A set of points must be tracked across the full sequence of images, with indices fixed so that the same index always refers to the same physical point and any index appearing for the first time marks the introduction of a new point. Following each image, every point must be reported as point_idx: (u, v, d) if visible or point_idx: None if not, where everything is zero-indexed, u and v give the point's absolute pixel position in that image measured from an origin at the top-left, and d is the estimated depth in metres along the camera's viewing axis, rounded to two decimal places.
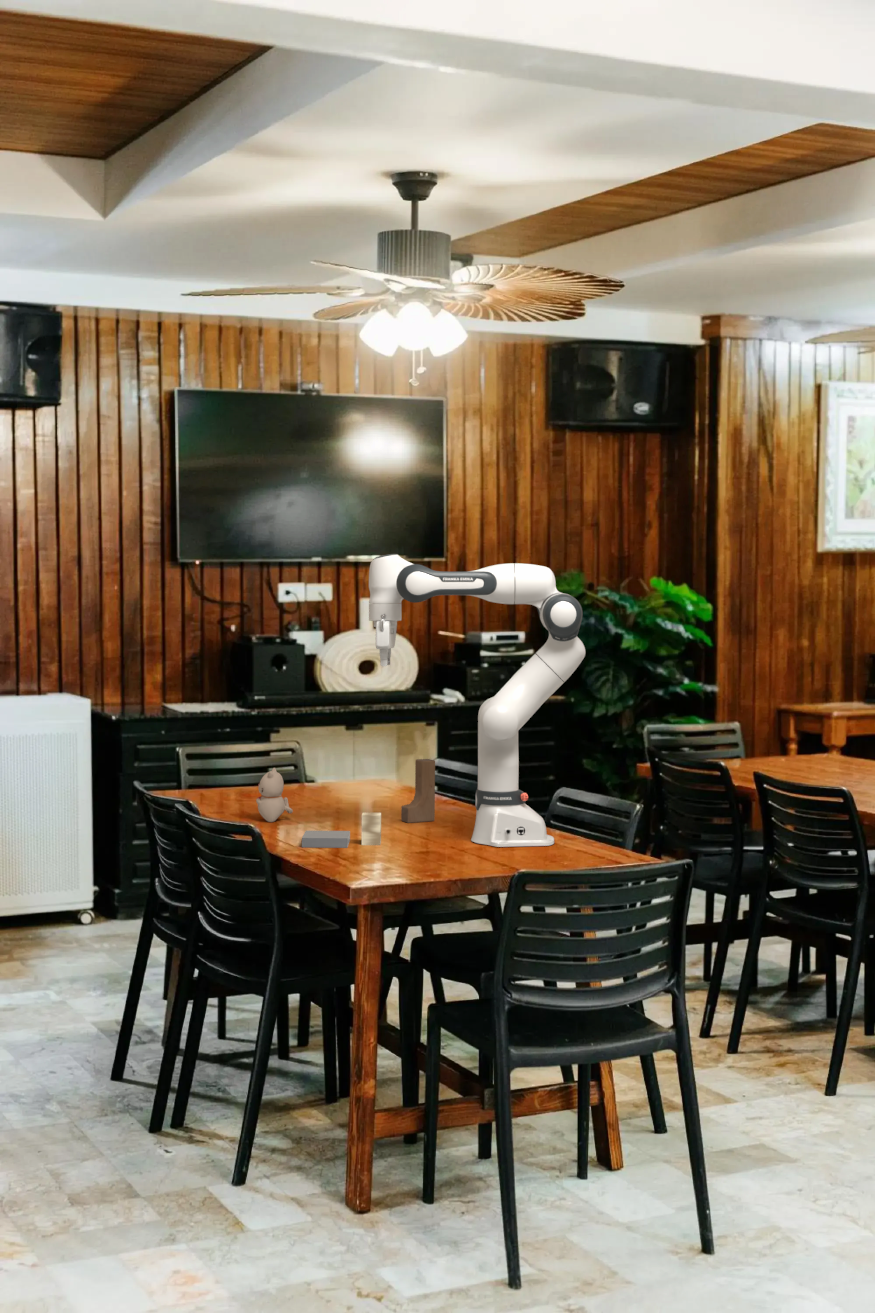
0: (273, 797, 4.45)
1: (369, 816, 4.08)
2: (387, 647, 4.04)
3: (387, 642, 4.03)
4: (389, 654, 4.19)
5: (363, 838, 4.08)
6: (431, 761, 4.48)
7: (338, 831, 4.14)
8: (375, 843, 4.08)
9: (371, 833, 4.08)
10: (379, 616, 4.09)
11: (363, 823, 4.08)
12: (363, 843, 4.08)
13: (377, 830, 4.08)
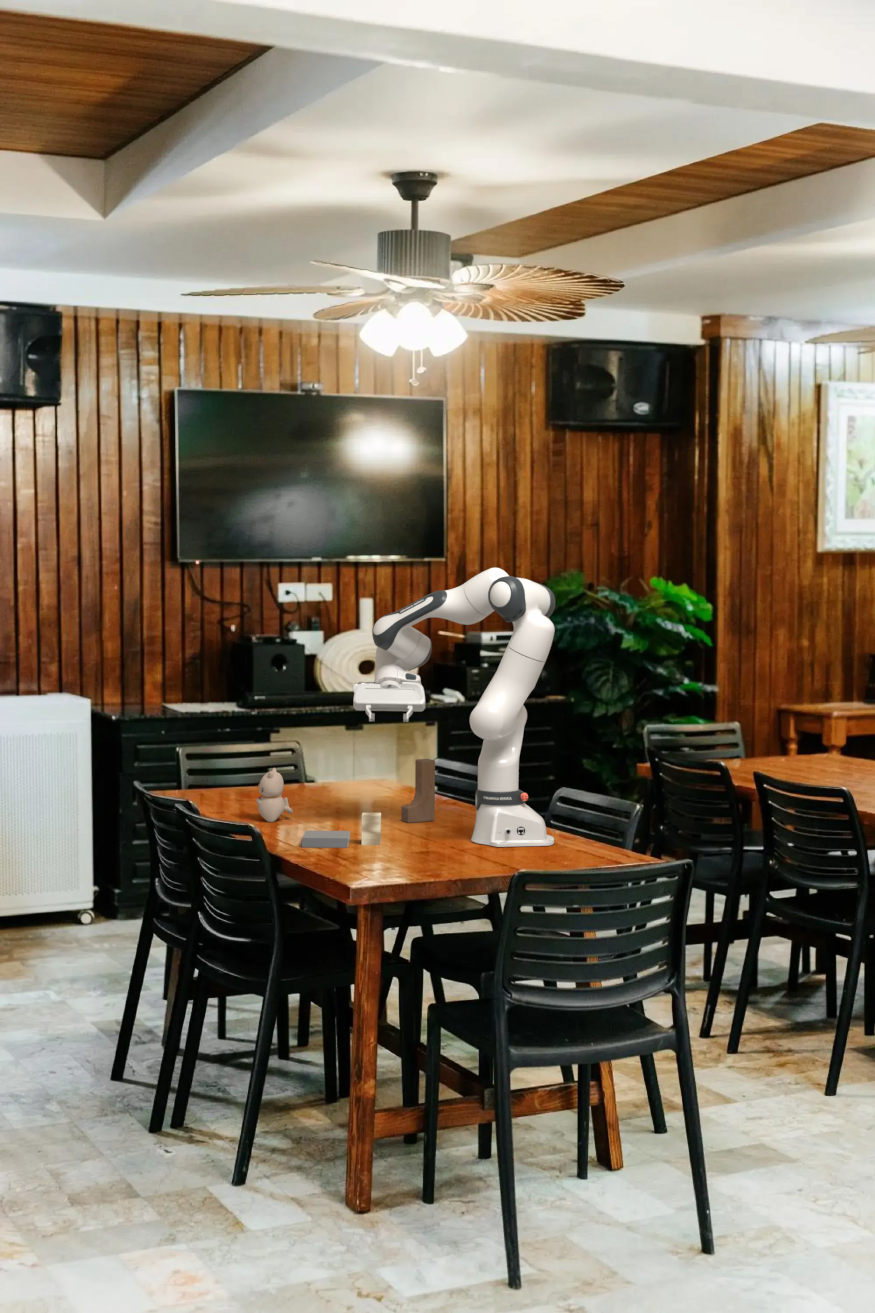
0: (273, 797, 4.45)
1: (369, 816, 4.08)
2: (354, 702, 4.27)
3: (353, 699, 4.28)
4: None
5: (363, 838, 4.08)
6: (431, 761, 4.48)
7: (338, 831, 4.14)
8: (375, 843, 4.08)
9: (371, 833, 4.08)
10: None
11: (363, 823, 4.08)
12: (363, 843, 4.08)
13: (377, 830, 4.08)
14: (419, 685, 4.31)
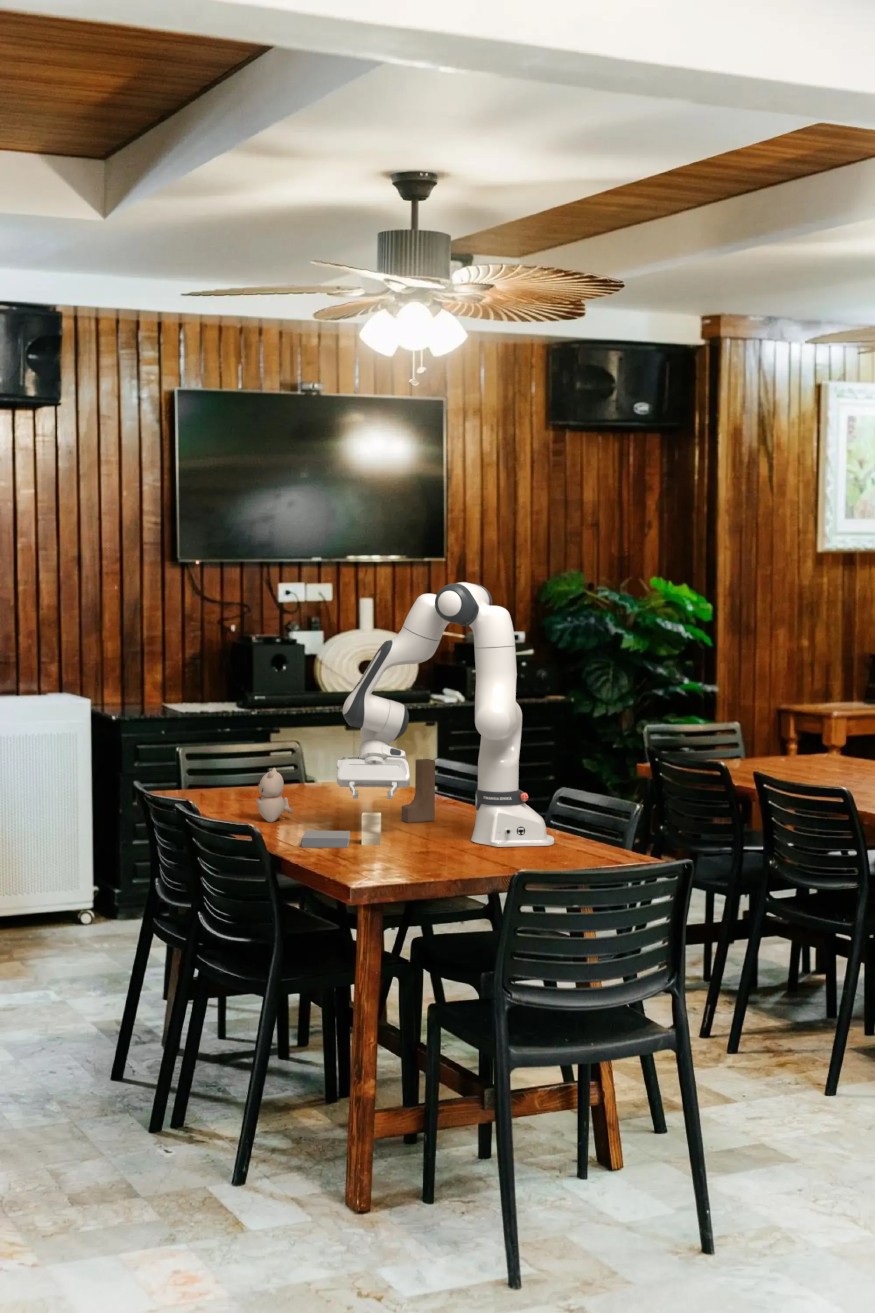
0: (273, 797, 4.45)
1: (369, 816, 4.08)
2: (338, 779, 4.21)
3: (337, 775, 4.22)
4: None
5: (363, 838, 4.08)
6: (431, 761, 4.48)
7: (338, 831, 4.14)
8: (375, 843, 4.08)
9: (371, 833, 4.08)
10: None
11: (363, 823, 4.08)
12: (363, 843, 4.08)
13: (377, 830, 4.08)
14: (404, 761, 4.24)
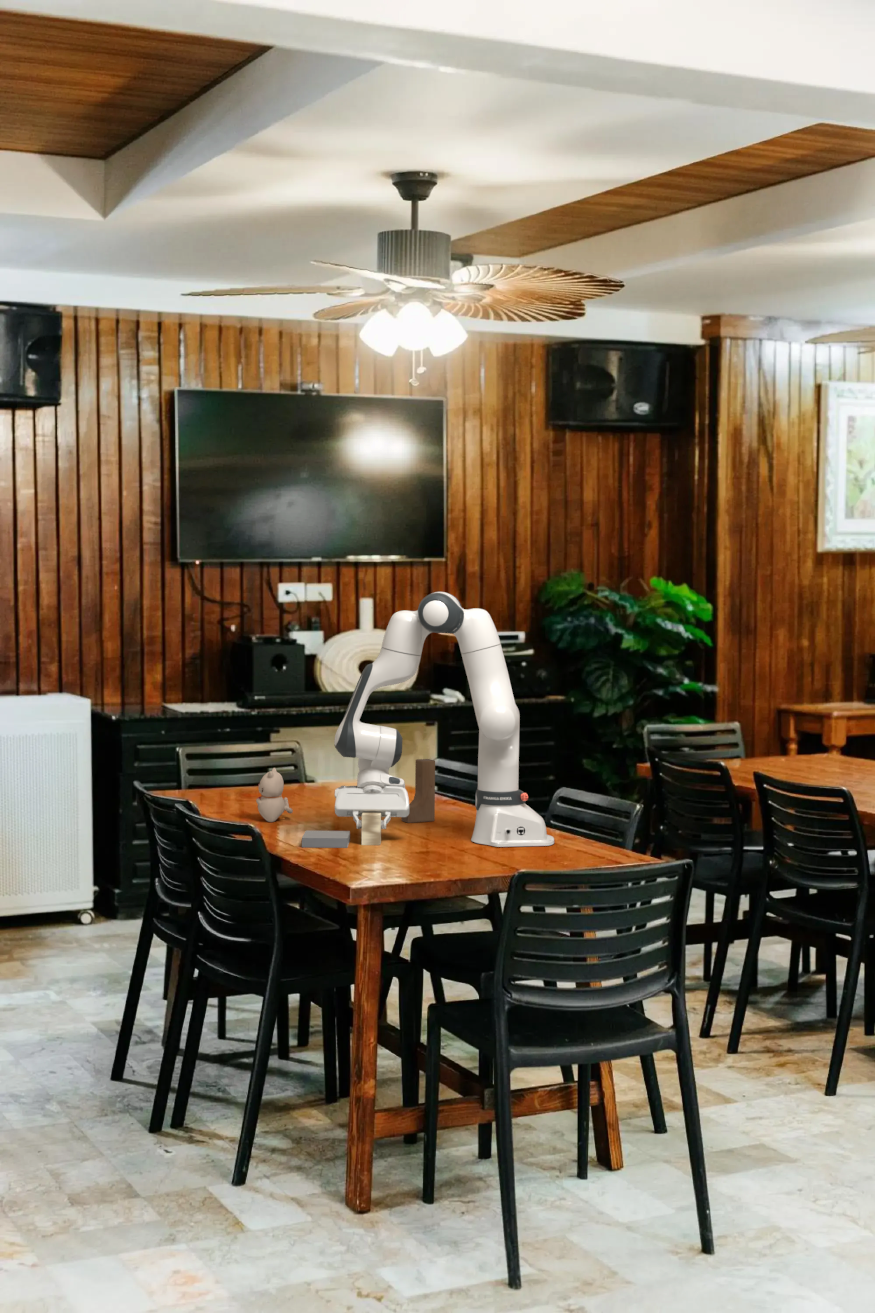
0: (273, 797, 4.45)
1: (369, 816, 4.08)
2: (336, 809, 4.12)
3: (335, 804, 4.13)
4: None
5: (363, 838, 4.08)
6: (431, 761, 4.48)
7: (338, 831, 4.14)
8: (375, 843, 4.08)
9: (371, 833, 4.08)
10: None
11: (363, 823, 4.08)
12: (363, 843, 4.08)
13: (377, 830, 4.08)
14: (403, 789, 4.15)
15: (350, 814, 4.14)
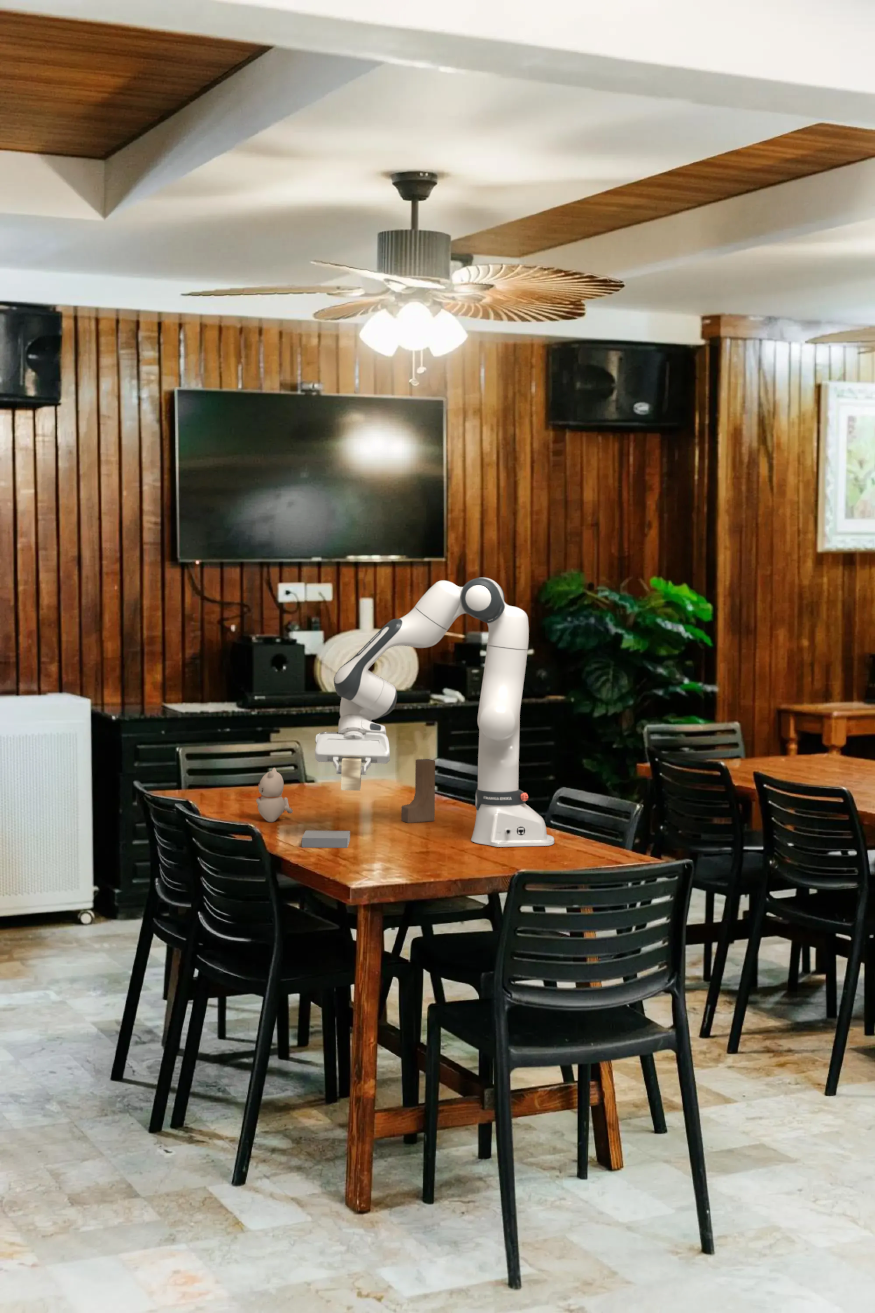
0: (273, 797, 4.45)
1: (349, 761, 4.07)
2: (316, 754, 4.11)
3: (315, 750, 4.12)
4: None
5: (343, 783, 4.07)
6: (431, 761, 4.48)
7: (338, 831, 4.14)
8: (355, 788, 4.07)
9: (350, 778, 4.07)
10: None
11: (343, 768, 4.07)
12: (343, 788, 4.07)
13: (357, 775, 4.07)
14: (384, 736, 4.14)
15: (330, 759, 4.13)
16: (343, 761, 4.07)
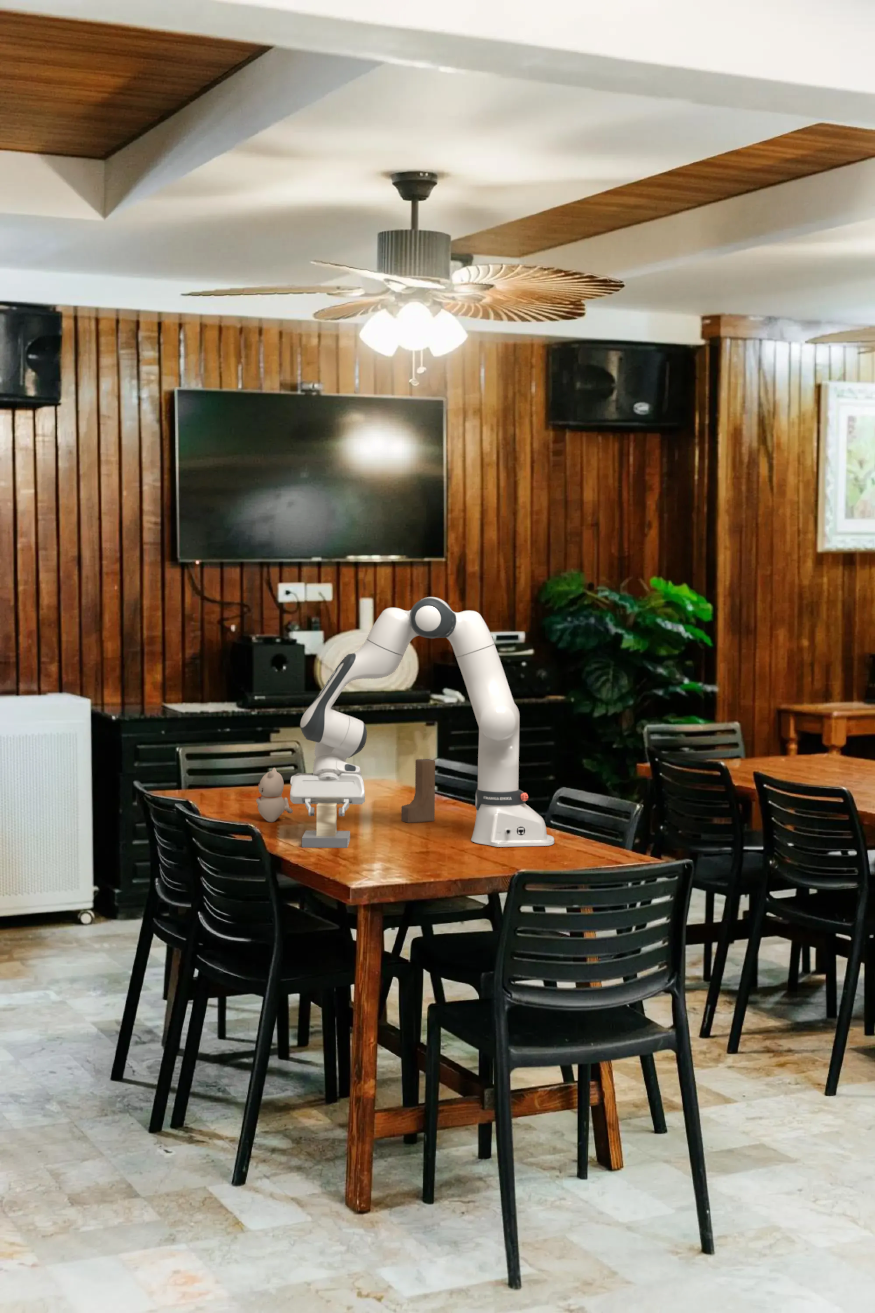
0: (273, 797, 4.45)
1: (324, 807, 4.07)
2: (291, 796, 4.11)
3: (290, 792, 4.12)
4: None
5: (318, 829, 4.07)
6: (431, 761, 4.48)
7: (338, 831, 4.14)
8: (330, 834, 4.07)
9: (325, 824, 4.07)
10: None
11: (318, 814, 4.07)
12: (318, 834, 4.07)
13: (332, 820, 4.07)
14: (359, 777, 4.14)
15: None
16: (318, 807, 4.07)
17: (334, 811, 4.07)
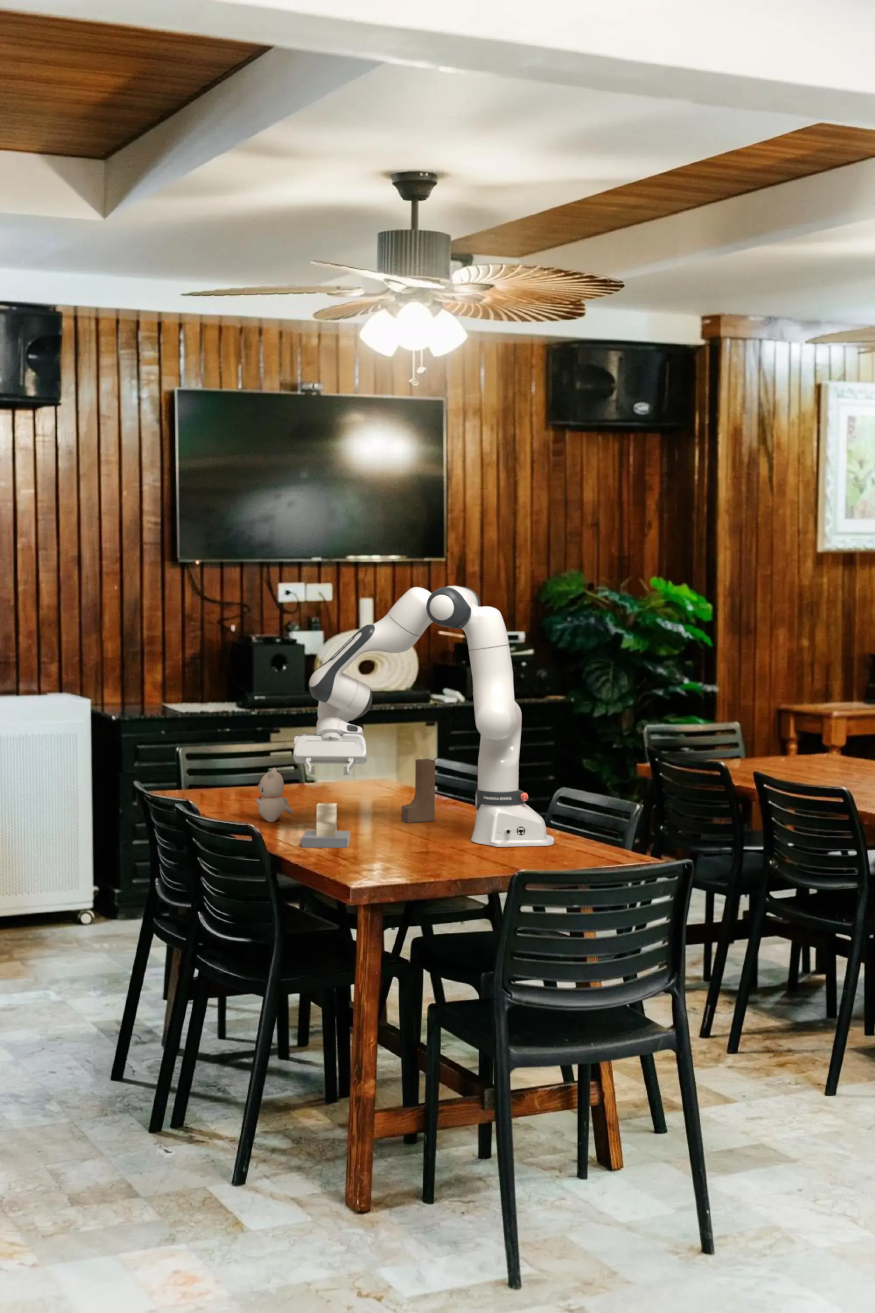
0: (273, 797, 4.45)
1: (324, 807, 4.07)
2: (294, 755, 4.20)
3: None
4: None
5: (318, 829, 4.07)
6: (431, 761, 4.48)
7: (338, 831, 4.14)
8: (330, 834, 4.07)
9: (325, 824, 4.07)
10: None
11: (318, 814, 4.07)
12: (318, 834, 4.07)
13: (332, 820, 4.07)
14: (361, 737, 4.23)
15: None
16: (318, 807, 4.07)
17: (334, 811, 4.07)
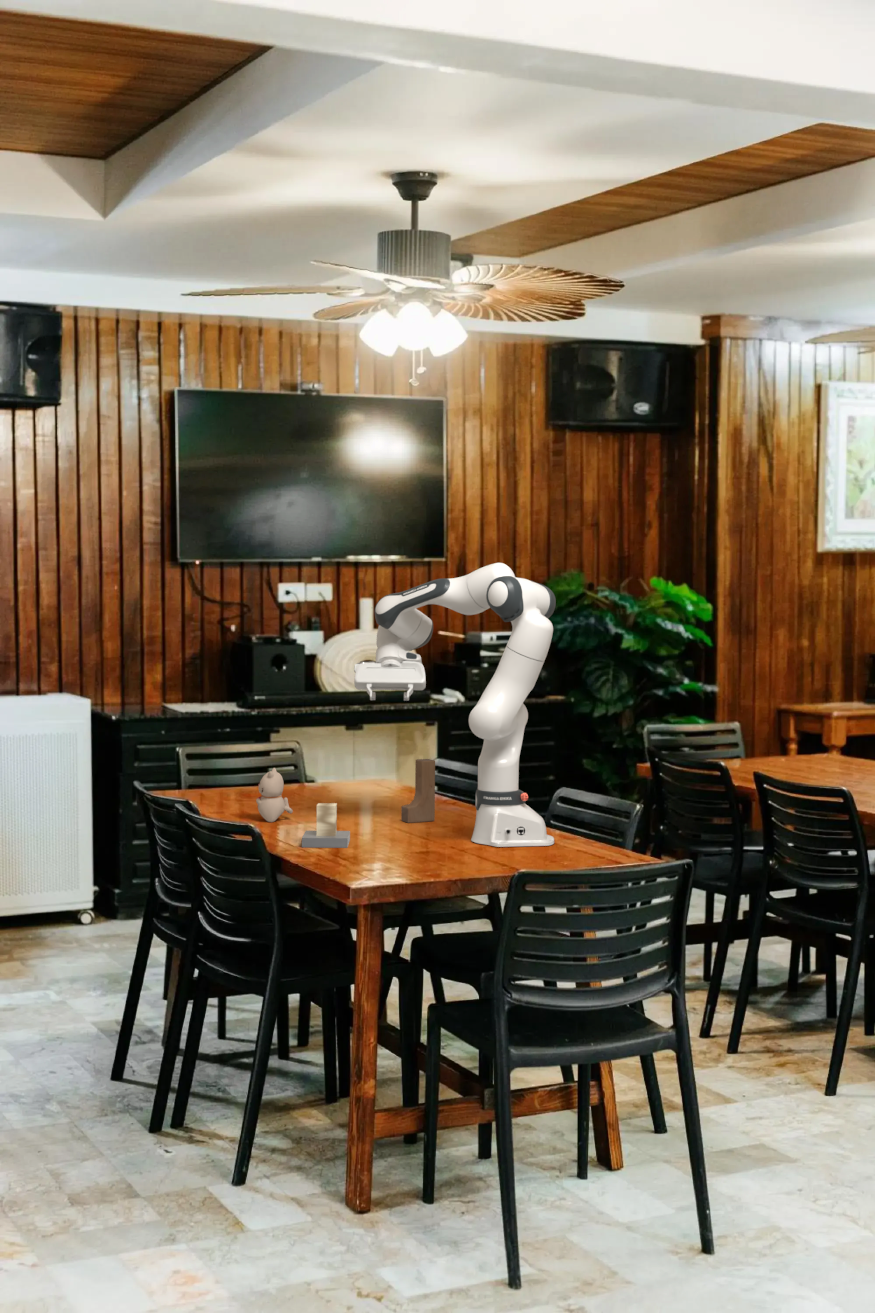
0: (273, 797, 4.45)
1: (324, 807, 4.07)
2: (355, 681, 4.31)
3: (354, 678, 4.31)
4: None
5: (318, 829, 4.07)
6: (431, 761, 4.48)
7: (338, 831, 4.14)
8: (330, 834, 4.07)
9: (325, 824, 4.07)
10: None
11: (318, 814, 4.07)
12: (318, 834, 4.07)
13: (332, 820, 4.07)
14: (420, 664, 4.34)
15: None
16: (318, 807, 4.07)
17: (334, 811, 4.07)
